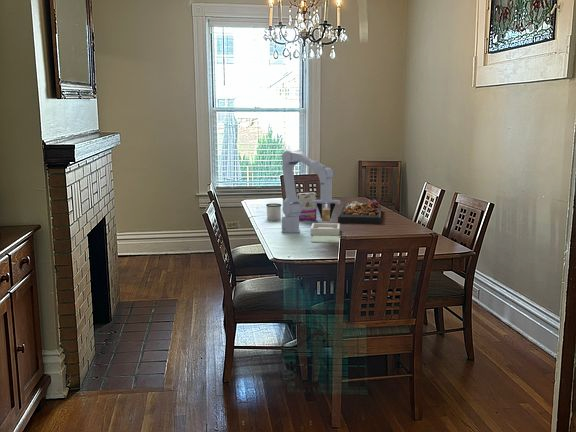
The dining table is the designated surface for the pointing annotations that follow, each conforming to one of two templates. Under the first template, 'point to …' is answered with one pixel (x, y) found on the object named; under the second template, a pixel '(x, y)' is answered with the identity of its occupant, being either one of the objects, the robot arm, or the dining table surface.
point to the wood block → (326, 215)
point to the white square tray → (325, 229)
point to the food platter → (361, 213)
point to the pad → (325, 239)
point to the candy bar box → (307, 206)
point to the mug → (273, 211)
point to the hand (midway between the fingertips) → (326, 218)
